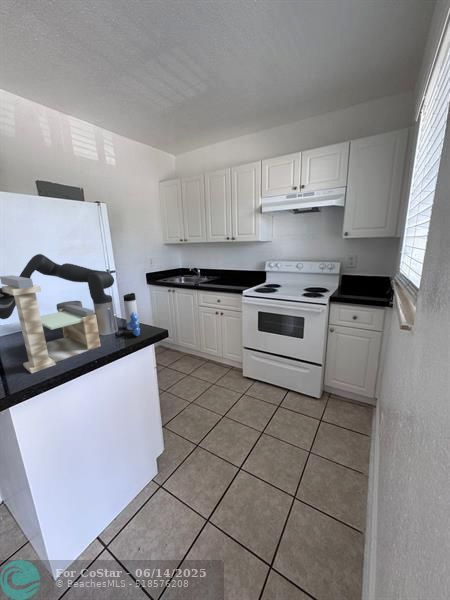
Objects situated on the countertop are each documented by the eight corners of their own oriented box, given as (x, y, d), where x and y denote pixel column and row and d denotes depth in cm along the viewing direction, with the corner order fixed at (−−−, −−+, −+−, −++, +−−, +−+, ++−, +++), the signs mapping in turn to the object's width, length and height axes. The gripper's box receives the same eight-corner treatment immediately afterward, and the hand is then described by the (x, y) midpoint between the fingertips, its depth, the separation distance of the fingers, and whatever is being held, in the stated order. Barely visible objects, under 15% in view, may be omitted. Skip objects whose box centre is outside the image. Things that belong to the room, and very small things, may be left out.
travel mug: (141, 326, 139) (138, 293, 135) (134, 330, 133) (129, 295, 128) (132, 326, 141) (128, 292, 137) (124, 329, 135) (120, 295, 130)
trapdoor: (72, 311, 125) (70, 303, 124) (94, 318, 111) (93, 310, 110) (31, 320, 111) (29, 311, 110) (51, 329, 97) (49, 320, 96)
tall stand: (43, 356, 105) (27, 283, 97) (55, 364, 96) (39, 286, 89) (20, 363, 98) (1, 286, 91) (31, 373, 90) (12, 289, 83)
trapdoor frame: (75, 335, 129) (70, 307, 125) (100, 346, 113) (95, 314, 110) (33, 347, 114) (26, 316, 111) (56, 361, 99) (48, 326, 95)
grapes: (125, 333, 130) (123, 311, 127) (138, 330, 133) (136, 309, 130) (129, 340, 120) (126, 317, 117) (143, 337, 123) (140, 314, 121)
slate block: (14, 282, 102) (12, 275, 101) (33, 287, 88) (31, 278, 87) (1, 283, 98) (-1, 276, 98) (19, 288, 84) (17, 280, 84)
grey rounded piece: (82, 323, 149) (79, 299, 145) (88, 327, 140) (84, 303, 136) (58, 328, 141) (54, 303, 137) (62, 333, 131) (57, 307, 128)
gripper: (-20, 293, 112) (-17, 278, 102) (19, 288, 123) (24, 274, 113) (-14, 308, 111) (-12, 294, 101) (24, 302, 122) (30, 288, 112)
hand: (7, 283), depth 107 cm, fingers open, 8 cm apart
